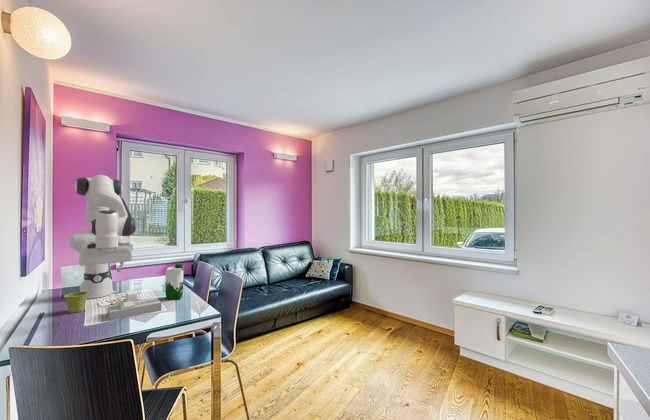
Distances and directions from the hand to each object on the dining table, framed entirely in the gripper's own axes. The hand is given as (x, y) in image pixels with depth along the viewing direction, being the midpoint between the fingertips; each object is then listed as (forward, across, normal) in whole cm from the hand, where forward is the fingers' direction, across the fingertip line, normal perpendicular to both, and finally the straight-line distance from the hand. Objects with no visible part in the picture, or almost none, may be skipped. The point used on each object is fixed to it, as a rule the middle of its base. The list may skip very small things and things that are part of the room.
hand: (106, 272), depth 135 cm
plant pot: (+21, +10, -22) cm, 32 cm away
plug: (+21, -12, -14) cm, 28 cm away
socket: (+21, -11, 0) cm, 24 cm away
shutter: (+17, -8, 0) cm, 19 cm away
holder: (+21, -12, -14) cm, 28 cm away
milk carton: (+21, -33, -12) cm, 41 cm away
